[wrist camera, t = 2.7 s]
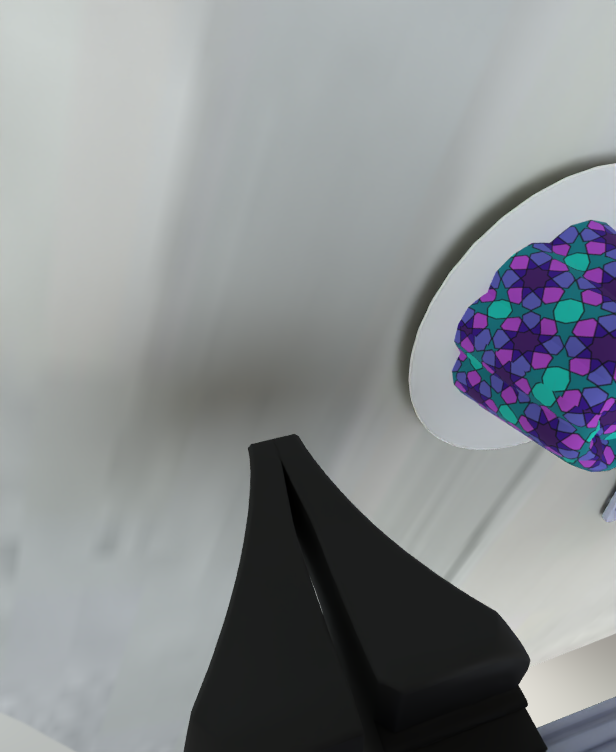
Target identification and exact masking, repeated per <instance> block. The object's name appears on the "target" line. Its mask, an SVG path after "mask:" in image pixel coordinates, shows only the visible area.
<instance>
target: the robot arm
mask: <svg viewBox="0 0 616 752" xmlns="http://www.w3.org/2000/svg"><path fill="white" fill-rule="evenodd" d="M248 451H249V456H250V469H251V478H250V497H249V509H248V517H247V524H246V531H245V537H244V543H243V549H242V554H241V559H240V563H239V568H238V572H237V577H236V581H235V585H234V588H233V592H232V596H231V600H230V603H229V607H228V610H227V614H226V617H225V620H224V624H223V627H222V630H221V633H220V636H219V639H218V642H217V645H216V648H215V651H214V654H213V657H212V659H211V662H210V665H209V668H208V670H207V673H206V675H205V678H204V681H203V683H202V686H201V688H200V691H199V693H198V696H197V698H196V701H195V703H194V706H193V709H192V711H191V716H190V721H189V726H188V731H187V736H186V741H185V747H184V752H616V697H613V698H611V699H609V700H606V701H603V702H601V703H598V704H596V705H593V706H591V707H589V708H586V709H583V710H581V711H578V712H576V713H573V714H571V715H569V716H566V717H563V718H561V719H558V720H556V721H553V722H551V723H548V724H546V725H543V726H541V727H538V728H536V726H535V725H534V723H533V722H532V719H531V717H530V716H529V714H528V712H527V710H526V708H525V707H527V706H528V703H527V700H526V698H525V696H524V695H523V693H522V691H521V689H520V688H519V686H518V684H519V683H520V681H521V680H522V678H523V676H524V675H525V673H526V672H527V670H528V667H529V664H530V658H529V656H528V654H527V652H526V650H525V649H524V647H523V645H522V644H521V642H520V641H519V639H518V638H517V636H516V635H515V634H514V633H513V631H512V630H511V629H510V627H509V626H508V625H507V623H506V622H505V621H504V620H503V619H502V617H501V616H500V615H499V614H498V613H497V612H496V611H494V610H493V609H491V608H489V607H488V606H486V605H484V604H483V603H481V602H479V601H477V600H476V599H474V598H473V597H471V596H469V595H468V594H466V593H464V592H463V591H461V590H460V589H458V588H457V587H455V586H454V585H452V584H451V583H449V582H448V581H446V580H445V579H443V578H442V577H440V576H439V575H437V574H436V573H434V572H433V571H432V570H430V569H429V568H428V567H426V566H425V565H423V564H422V563H421V562H419V561H418V560H417V559H415V558H414V557H413V556H411V555H410V554H409V553H407V552H406V551H405V550H403V549H402V548H401V547H400V546H398V545H397V544H396V543H395V542H394V541H392V540H391V539H390V538H389V537H388V536H386V535H385V534H384V533H383V532H382V531H381V530H380V529H378V528H377V527H376V526H375V525H374V524H373V523H372V522H371V521H370V520H369V519H368V518H367V517H365V516H364V515H363V514H362V513H361V512H360V511H359V510H358V509H357V508H356V507H355V506H354V505H353V504H352V503H351V502H350V501H349V500H348V498H347V497H346V496H345V495H344V494H343V493H342V492H341V491H340V490H339V489H338V487H337V486H336V485H335V484H334V483H333V482H332V481H331V480H330V478H329V477H328V476H327V475H326V474H325V472H324V471H323V470H322V469H321V468H320V466H319V465H318V464H317V462H316V461H315V460H314V458H313V457H312V456H311V454H310V453H309V452H308V450H307V449H306V447H305V446H304V444H303V443H302V441H301V439H300V438H299V436H297V435H296V434H292V435H288V436H284V437H280V438H276V439H271V440H267V441H263V442H259V443H255V444H251V445H250V446H249V448H248ZM602 518H603V519H604V520H605V521H606V522H612V521H615V520H616V492H615V493H614V495H613V497H612V499H611V500H610V502H609V504H608V506H607V507H606V509H605V511H604V513H603V514H602ZM311 580H312V581H311ZM312 583H313V584H312ZM313 586H314V587H313ZM314 588H315V590H314ZM315 591H316V593H315ZM316 594H317V596H316ZM317 597H318V599H317ZM318 600H319V602H318ZM319 603H320V605H319ZM320 606H321V608H320ZM321 609H322V610H321ZM322 612H323V613H322Z"/></svg>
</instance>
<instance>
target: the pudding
mask: <svg viewBox="0 0 616 752" xmlns="http://www.w3.org/2000/svg"><path fill="white" fill-rule="evenodd" d="M408 380H409V389H410V397H411V402H412V404H413V407H414V409H415V412H416V415H417V417H418V418H419V420H420V421H421V422H422V424H423V425H424V426H425V428H426V429H427V430H428V431H429V432H430V433H432V434H433V435H434V436H436V437H437V438H438V439H439V440H441V441H444V442H446V443H448V444H451V445H453V446H455V447H461V448H466V449H471V450H494V449H501V448H508V447H513V446H516V445H520V444H524V443H527V442H531V441H535V442H536V443H538V444H539V445H541V446H542V447H544V448H545V449H547V450H548V451H550V452H551V453H553V454H555V455H556V456H558V457H559V458H561V459H562V460H564V461H565V462H567V463H569V464H571V465H573V466H576V467H578V468H581V469H584V470H587V471H590V472H600V471H608V470H611V469H613V468H615V467H616V163H615V164H608V165H602V166H597V167H594V168H591V169H588V170H585V171H583V172H580V173H577V174H574V175H571V176H568V177H566V178H564V179H562V180H560V181H558V182H556V183H554V184H552V185H551V186H549V187H547V188H545V189H543V190H541V191H539V192H538V193H536V194H534V195H532V196H531V197H529V198H528V199H527V200H525V201H524V202H523V203H521V204H520V205H518V206H517V207H516V208H514V209H513V210H512V211H510V212H509V213H507V214H506V215H505V216H503V217H502V218H501V219H500V220H499V221H498V222H496V223H495V224H494V225H493V226H492V227H491V228H490V229H489V230H488V231H487V232H486V233H485V234H484V235H483V236H482V237H480V238H479V239H478V240H477V241H476V242H475V243H474V244H473V245H472V246H471V248H470V249H469V250H468V251H467V252H466V254H465V255H464V256H463V257H462V258H461V260H460V261H459V262H458V263H457V264H456V266H455V267H454V268H453V269H452V270H451V272H450V273H449V274H448V276H447V278H446V279H445V281H444V282H443V284H442V285H441V287H440V288H439V290H438V292H437V293H436V295H435V296H434V298H433V299H432V301H431V303H430V305H429V307H428V309H427V312H426V314H425V316H424V318H423V320H422V322H421V325H420V327H419V329H418V332H417V335H416V339H415V342H414V346H413V350H412V353H411V358H410V368H409V378H408Z"/></svg>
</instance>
